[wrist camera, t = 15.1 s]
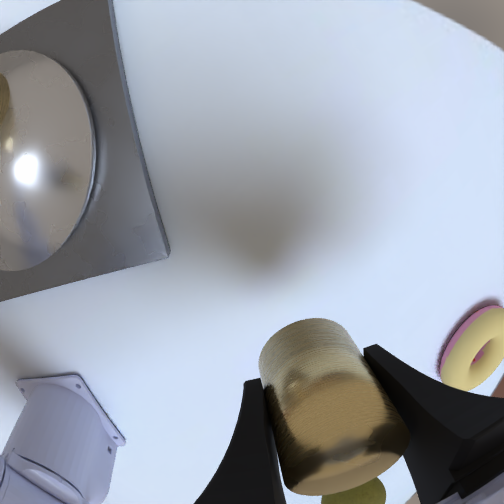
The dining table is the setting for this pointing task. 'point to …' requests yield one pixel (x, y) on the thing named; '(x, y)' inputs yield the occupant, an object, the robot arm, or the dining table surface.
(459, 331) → the donut
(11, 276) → the scale
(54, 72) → the scale pan
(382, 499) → the apple
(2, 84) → the cylinder
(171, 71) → the dining table surface
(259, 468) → the robot arm
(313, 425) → the cylinder
